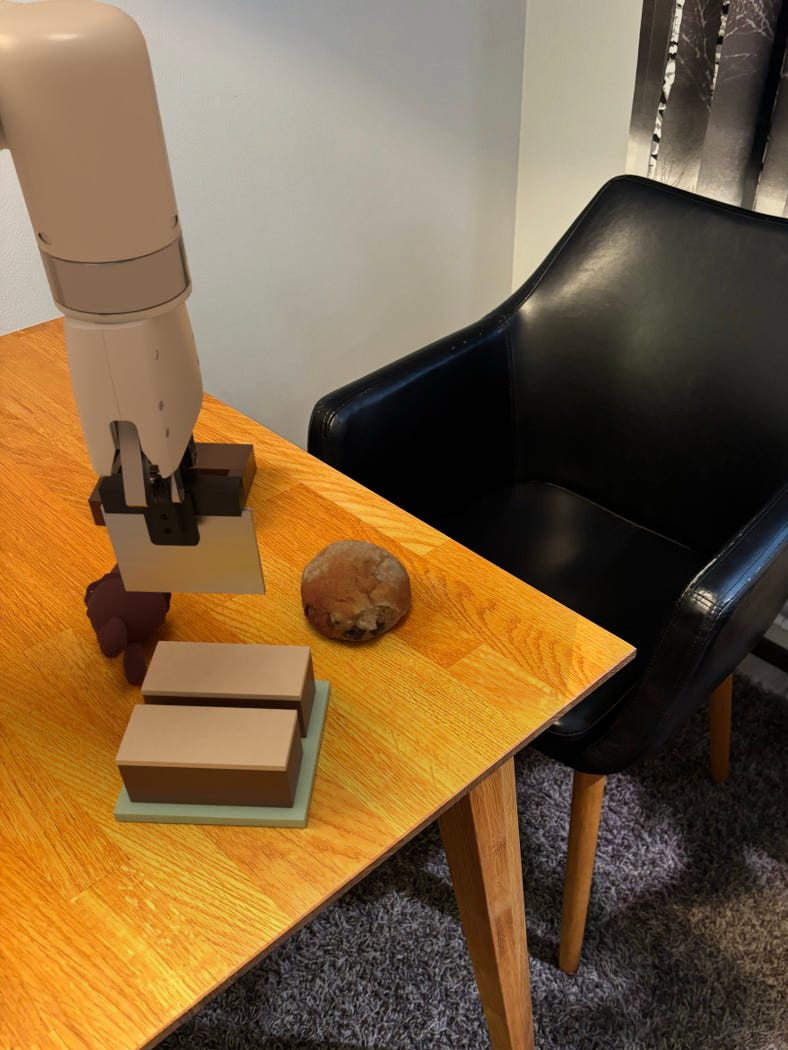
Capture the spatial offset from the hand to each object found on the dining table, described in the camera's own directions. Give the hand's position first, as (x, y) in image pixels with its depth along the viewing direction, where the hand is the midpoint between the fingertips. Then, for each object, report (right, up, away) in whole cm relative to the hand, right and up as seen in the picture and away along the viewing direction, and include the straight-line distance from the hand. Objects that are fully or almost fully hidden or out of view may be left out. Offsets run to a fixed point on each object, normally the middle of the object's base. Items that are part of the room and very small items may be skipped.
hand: (180, 529), depth 68 cm
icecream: (-10, -7, +20) cm, 24 cm away
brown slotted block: (-10, +7, +34) cm, 37 cm away
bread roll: (+9, -5, +23) cm, 25 cm away
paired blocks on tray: (+1, -16, +11) cm, 20 cm away
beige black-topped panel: (0, -4, +4) cm, 6 cm away
